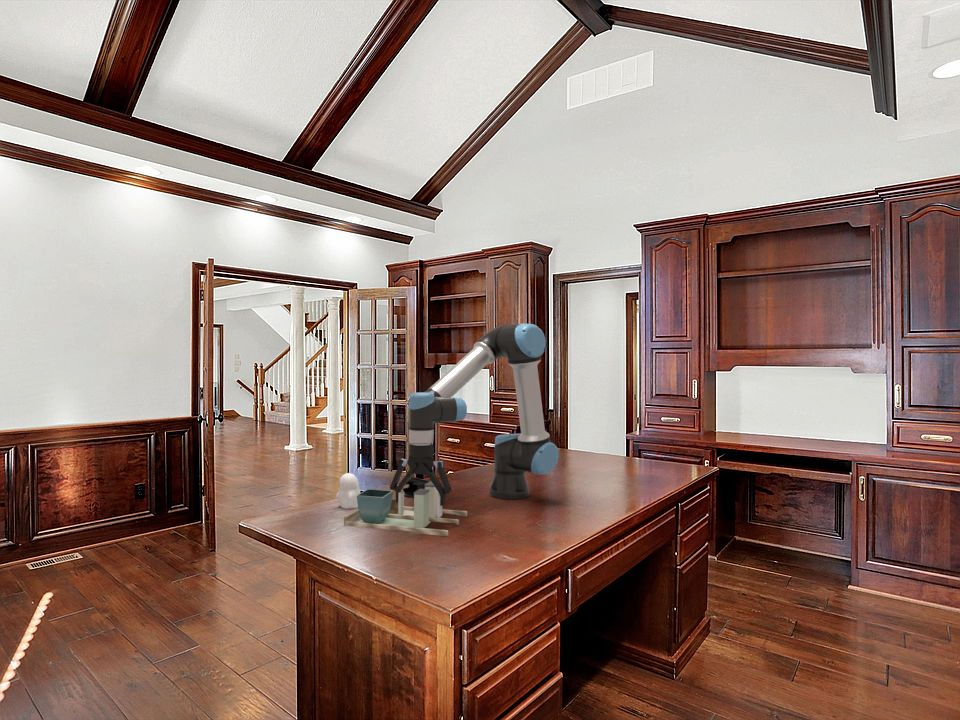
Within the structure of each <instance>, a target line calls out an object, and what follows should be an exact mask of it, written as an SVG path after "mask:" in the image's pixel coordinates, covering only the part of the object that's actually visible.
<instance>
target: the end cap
mask: <svg viewBox="0 0 960 720" xmlns="http://www.w3.org/2000/svg"><path fill="white" fill-rule="evenodd" d="M430 481H431V480H427V479H423V478H421V477H420V478H419V477H415V476H411V478H410V479H409V480H408V482H407V483H406V484H405V486H406V485H408V487H405V488H404V487H403V488H402V491H404V498H406V499H414V492H415V491H417V490H419V489H425V484H426V483H428V482H430Z"/></svg>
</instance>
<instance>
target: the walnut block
mask: <svg viewBox="0 0 960 720" xmlns="http://www.w3.org/2000/svg"><path fill="white" fill-rule="evenodd" d="M388 514H398V502H396V495H392V503H391V508H390V511H389V513H388ZM402 514H403V513H402ZM402 514H399V515H402Z"/></svg>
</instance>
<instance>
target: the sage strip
mask: <svg viewBox="0 0 960 720" xmlns="http://www.w3.org/2000/svg"><path fill="white" fill-rule="evenodd" d="M429 491H430V489H419V490H417V491H415V492H414V498H413V500H414V502H413V507H414V520H410V519H398V518H387V517H386V519H385V520H384V521H382V522H381V523H380V524H382V525H394V526H405V527H416V528H426V527H428V525H429V524H430V523H431V521H429ZM356 522H360V523H365V522H364V521H363V520H362V518H361V519H359V520H357V521H356ZM371 524H375V523H371Z"/></svg>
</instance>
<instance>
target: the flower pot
mask: <svg viewBox="0 0 960 720" xmlns="http://www.w3.org/2000/svg"><path fill="white" fill-rule="evenodd" d="M393 494H394V490H391V489H390V490H387V489H386V490H385V489H374V488H367V489H365V490H363V491H362V492H360V494H358V495H357V503H358V508H357V509H358V511H359V514H360V516H361V517H360V518H361V519H362V520H363V521H364V522H365V523H375V524H380V523H381V522H382V521H384V520H385V519H386V518H387V515H388V513H389V511H390V508H391V503H392V496H394V495H393Z"/></svg>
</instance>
